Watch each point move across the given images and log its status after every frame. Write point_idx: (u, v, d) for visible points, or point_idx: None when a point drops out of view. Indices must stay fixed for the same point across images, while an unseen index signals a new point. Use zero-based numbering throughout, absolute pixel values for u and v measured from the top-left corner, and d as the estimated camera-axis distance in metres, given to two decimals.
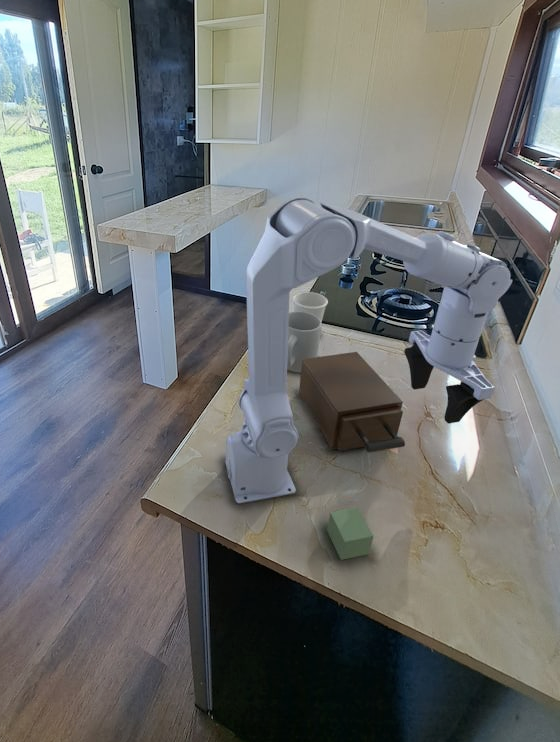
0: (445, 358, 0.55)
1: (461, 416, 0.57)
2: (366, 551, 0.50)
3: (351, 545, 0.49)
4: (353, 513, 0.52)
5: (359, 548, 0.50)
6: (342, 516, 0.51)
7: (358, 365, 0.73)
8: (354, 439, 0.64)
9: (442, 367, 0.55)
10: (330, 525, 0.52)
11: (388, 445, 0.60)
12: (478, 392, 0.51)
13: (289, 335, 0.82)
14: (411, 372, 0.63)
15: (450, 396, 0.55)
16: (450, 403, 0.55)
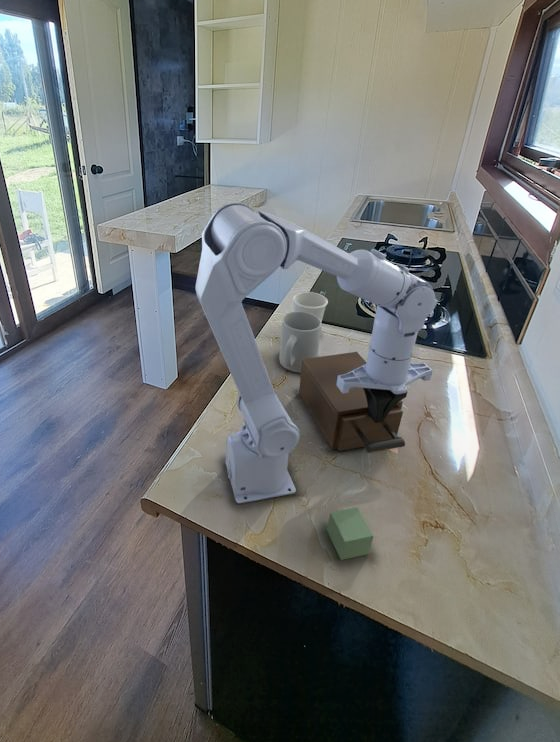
0: None
1: (375, 416, 0.61)
2: (366, 551, 0.50)
3: (351, 545, 0.49)
4: (353, 513, 0.52)
5: (359, 548, 0.50)
6: (342, 516, 0.51)
7: (358, 365, 0.73)
8: (354, 439, 0.64)
9: (364, 365, 0.60)
10: (330, 525, 0.52)
11: (388, 445, 0.60)
12: None
13: (289, 335, 0.82)
14: None
15: None
16: None
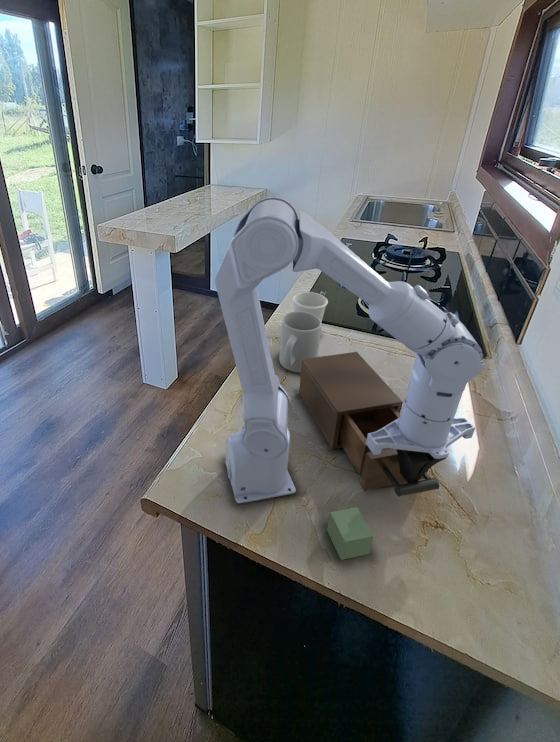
0: None
1: (408, 477, 0.54)
2: (366, 551, 0.50)
3: (351, 545, 0.49)
4: (353, 513, 0.52)
5: (359, 548, 0.50)
6: (342, 516, 0.51)
7: (358, 365, 0.73)
8: (380, 478, 0.57)
9: None
10: (330, 525, 0.52)
11: (421, 488, 0.53)
12: None
13: (289, 335, 0.82)
14: None
15: None
16: None
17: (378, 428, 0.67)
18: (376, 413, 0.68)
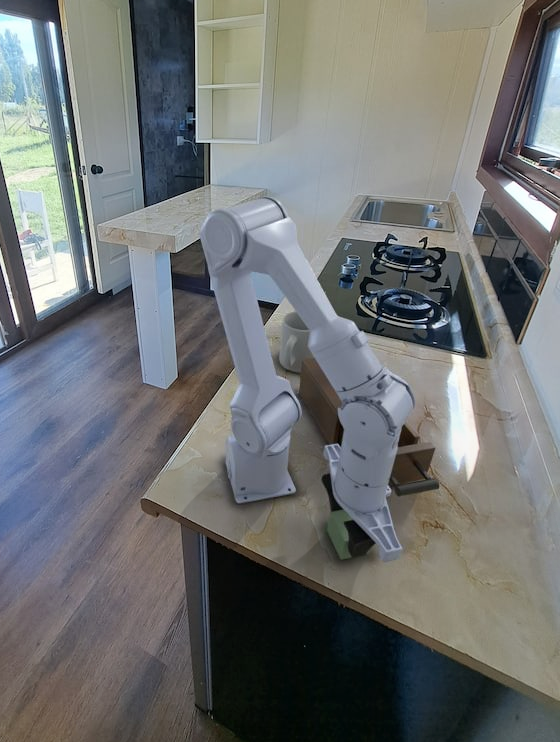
0: (350, 500, 0.45)
1: (366, 550, 0.49)
2: None
3: None
4: None
5: None
6: (342, 516, 0.51)
7: None
8: None
9: (347, 509, 0.46)
10: (329, 525, 0.53)
11: (421, 488, 0.53)
12: (382, 553, 0.42)
13: (289, 335, 0.82)
14: (330, 503, 0.53)
15: None
16: (350, 539, 0.47)
17: None
18: None
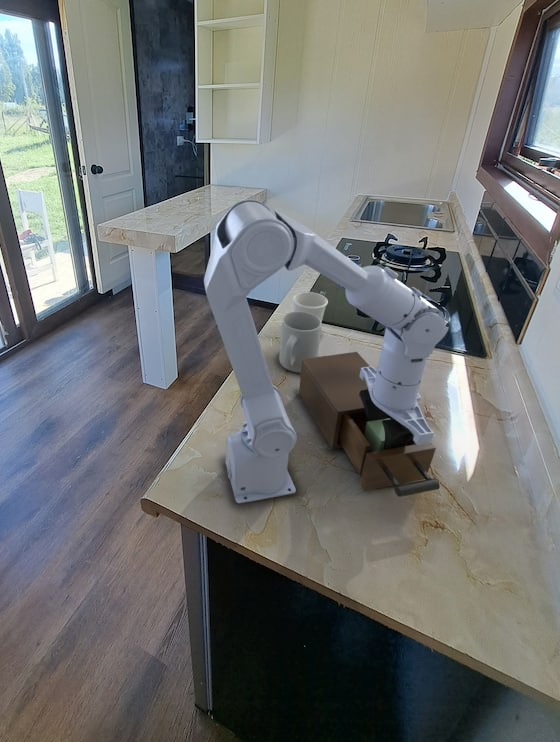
0: (388, 400, 0.54)
1: None
2: None
3: None
4: None
5: None
6: (377, 424, 0.61)
7: (358, 365, 0.73)
8: (380, 478, 0.57)
9: (385, 409, 0.55)
10: (366, 434, 0.62)
11: (421, 488, 0.53)
12: (417, 437, 0.51)
13: (289, 335, 0.82)
14: (366, 415, 0.62)
15: (386, 431, 0.55)
16: (387, 437, 0.56)
17: None
18: None
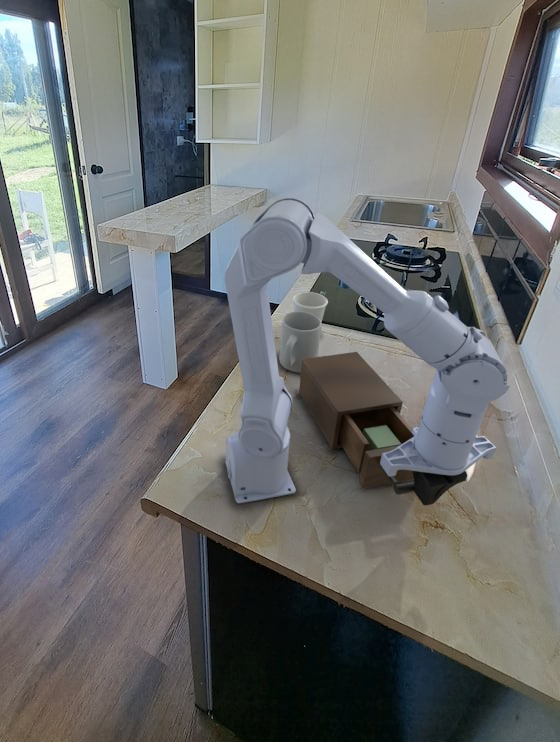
0: (468, 456, 0.46)
1: None
2: None
3: None
4: (383, 429, 0.62)
5: None
6: (374, 431, 0.62)
7: (358, 365, 0.73)
8: (379, 476, 0.58)
9: (468, 465, 0.46)
10: None
11: None
12: (492, 452, 0.49)
13: (289, 335, 0.82)
14: (431, 494, 0.49)
15: (451, 484, 0.48)
16: (445, 488, 0.49)
17: None
18: (375, 412, 0.69)
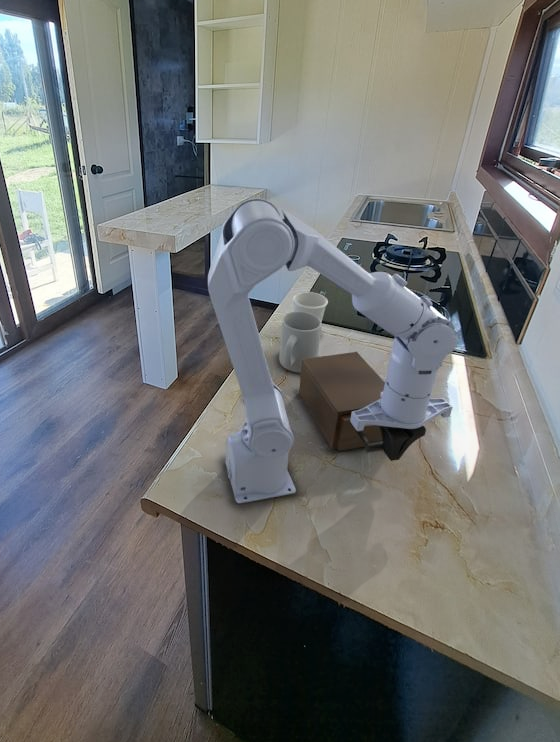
0: (425, 411, 0.53)
1: None
2: None
3: None
4: None
5: None
6: None
7: (358, 365, 0.73)
8: (354, 439, 0.64)
9: (426, 420, 0.53)
10: None
11: None
12: (449, 411, 0.55)
13: (289, 335, 0.82)
14: (396, 449, 0.56)
15: (412, 438, 0.55)
16: (408, 443, 0.56)
17: None
18: None
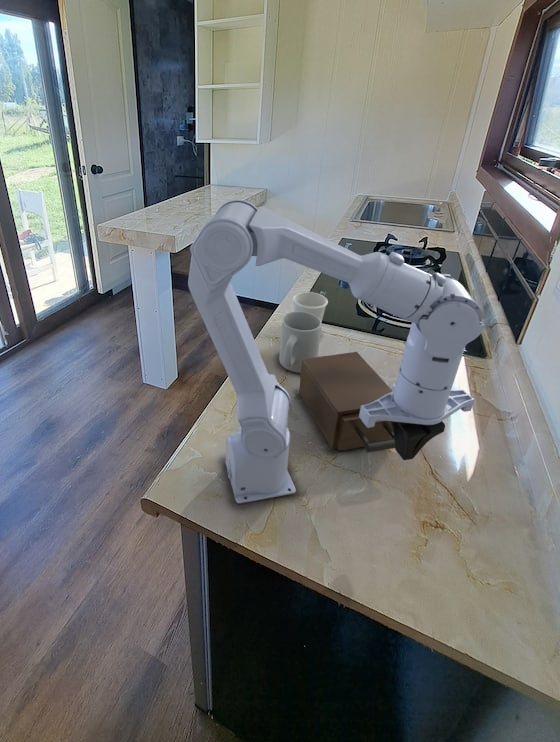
0: (445, 405, 0.46)
1: None
2: None
3: None
4: None
5: None
6: None
7: (358, 365, 0.73)
8: (354, 439, 0.64)
9: (446, 415, 0.47)
10: None
11: (388, 445, 0.60)
12: (471, 405, 0.49)
13: (289, 335, 0.82)
14: (410, 447, 0.50)
15: (430, 435, 0.48)
16: (424, 441, 0.49)
17: None
18: None
